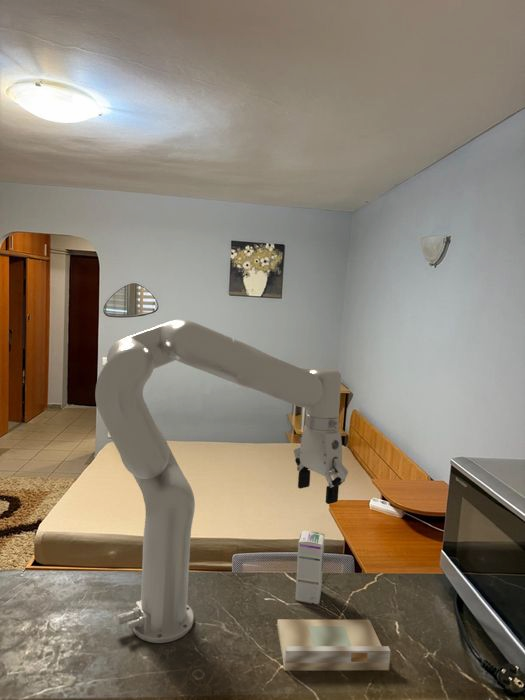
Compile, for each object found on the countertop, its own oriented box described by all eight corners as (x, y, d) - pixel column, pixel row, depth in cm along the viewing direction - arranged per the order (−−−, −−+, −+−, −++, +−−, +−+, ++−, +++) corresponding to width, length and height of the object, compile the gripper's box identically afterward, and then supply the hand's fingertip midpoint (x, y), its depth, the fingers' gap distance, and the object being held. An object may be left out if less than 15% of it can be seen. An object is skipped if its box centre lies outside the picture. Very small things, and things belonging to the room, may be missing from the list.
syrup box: (319, 605, 104) (324, 544, 103) (293, 600, 105) (298, 540, 104) (321, 590, 110) (325, 533, 109) (297, 586, 111) (301, 529, 110)
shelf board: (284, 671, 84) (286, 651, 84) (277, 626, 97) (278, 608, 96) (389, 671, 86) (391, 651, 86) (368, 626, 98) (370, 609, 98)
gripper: (361, 430, 99) (355, 505, 101) (309, 412, 113) (305, 479, 115) (336, 433, 95) (330, 512, 97) (285, 415, 109) (281, 484, 111)
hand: (317, 494), depth 106 cm, fingers open, 9 cm apart
